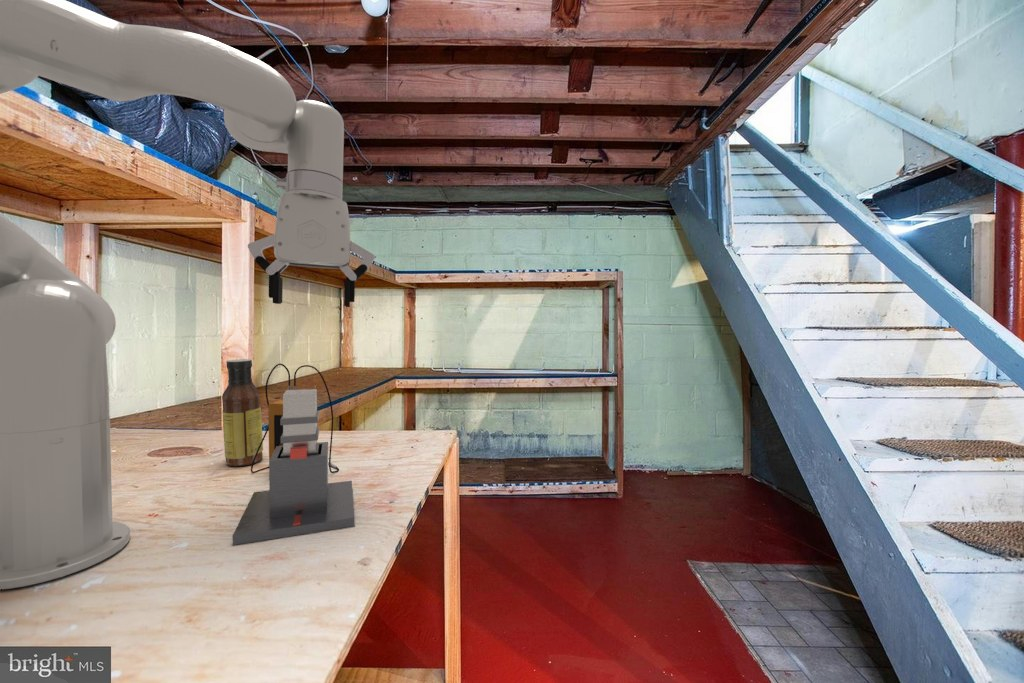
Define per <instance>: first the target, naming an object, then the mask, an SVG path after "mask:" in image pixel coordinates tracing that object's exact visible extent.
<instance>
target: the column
mask: <svg viewBox="0 0 1024 683" xmlns="http://www.w3.org/2000/svg"><path fill="white" fill-rule="evenodd" d="M317 398H318V389H317V388H313V389H312V388H311V389H296V390H294V389H291V390H288V389H286V390H285V391H284V393H283V394H282V400H283V416H282V418H281V419H280V425H283V434H282V436H281V438H280V439H281V443H283V451H282V454H281V458H287V457H290V448H291V447H300V446H307V456H309V455H318V454H319V443H320V442H318V441H319V435H320V426H318V423H319V419H320V410H318V399H317ZM317 443H318V444H317Z"/></svg>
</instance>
